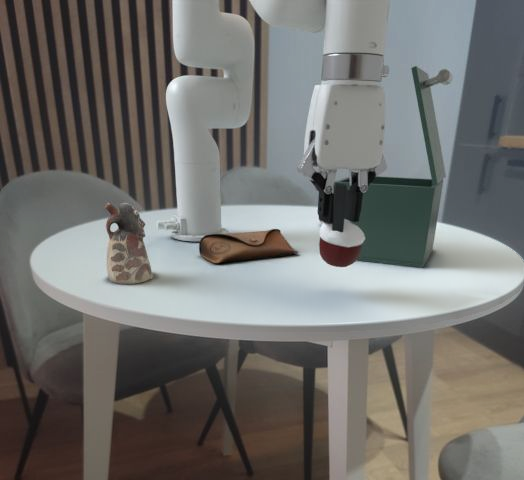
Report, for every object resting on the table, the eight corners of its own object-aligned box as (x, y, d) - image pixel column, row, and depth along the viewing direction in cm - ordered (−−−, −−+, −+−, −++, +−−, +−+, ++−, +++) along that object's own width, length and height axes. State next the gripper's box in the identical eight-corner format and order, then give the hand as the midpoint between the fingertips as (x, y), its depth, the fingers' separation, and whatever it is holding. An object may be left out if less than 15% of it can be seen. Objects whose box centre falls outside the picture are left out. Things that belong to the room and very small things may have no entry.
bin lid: (411, 67, 78) (444, 54, 76) (423, 75, 90) (452, 64, 88) (432, 185, 83) (464, 177, 81) (441, 177, 96) (469, 170, 93)
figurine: (154, 282, 79) (148, 205, 74) (108, 285, 78) (98, 206, 72) (150, 270, 86) (144, 198, 81) (107, 273, 84) (98, 199, 79)
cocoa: (340, 254, 78) (355, 174, 73) (371, 266, 74) (389, 183, 69) (297, 261, 72) (310, 175, 67) (329, 275, 68) (345, 185, 63)
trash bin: (328, 257, 96) (333, 181, 90) (348, 242, 108) (353, 175, 102) (422, 267, 89) (434, 187, 83) (432, 250, 101) (443, 179, 96)
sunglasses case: (216, 262, 88) (208, 227, 89) (204, 274, 95) (196, 240, 95) (301, 252, 96) (293, 219, 97) (284, 263, 103) (277, 232, 103)
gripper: (387, 78, 69) (372, 213, 77) (279, 71, 63) (274, 219, 71) (423, 75, 62) (402, 222, 70) (307, 68, 56) (298, 230, 64)
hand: (338, 219), depth 70 cm, fingers closed on cocoa, 3 cm apart
